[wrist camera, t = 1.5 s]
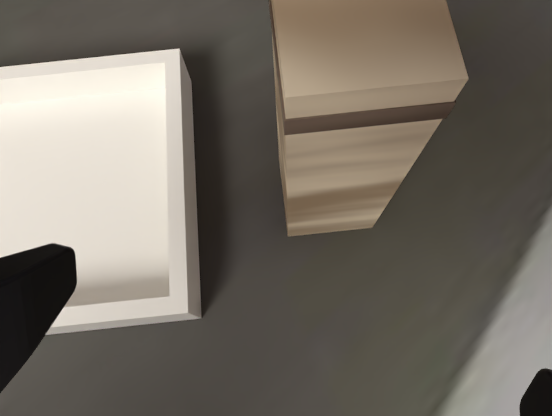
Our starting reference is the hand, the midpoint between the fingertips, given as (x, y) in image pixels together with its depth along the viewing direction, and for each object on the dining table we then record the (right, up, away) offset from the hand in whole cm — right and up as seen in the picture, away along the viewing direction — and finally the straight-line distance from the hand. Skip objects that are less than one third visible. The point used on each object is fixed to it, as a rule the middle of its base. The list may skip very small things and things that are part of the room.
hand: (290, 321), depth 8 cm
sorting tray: (-12, +2, +16) cm, 20 cm away
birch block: (+2, +3, +15) cm, 16 cm away
